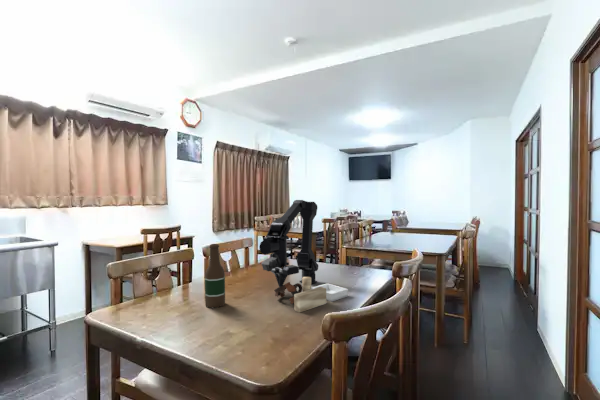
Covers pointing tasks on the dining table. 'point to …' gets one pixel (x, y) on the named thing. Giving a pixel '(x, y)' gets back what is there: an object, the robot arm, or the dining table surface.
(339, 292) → the tray
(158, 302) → the dining table surface
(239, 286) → the dining table surface
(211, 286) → the beer bottle
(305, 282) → the peg
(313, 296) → the block
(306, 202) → the robot arm
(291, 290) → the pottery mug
